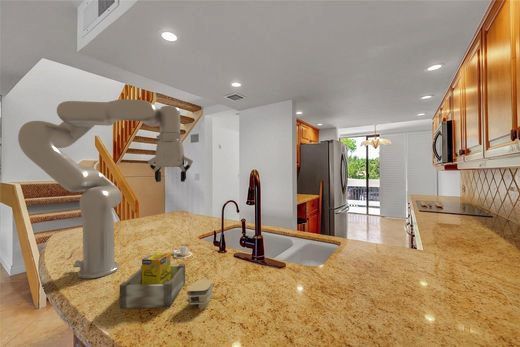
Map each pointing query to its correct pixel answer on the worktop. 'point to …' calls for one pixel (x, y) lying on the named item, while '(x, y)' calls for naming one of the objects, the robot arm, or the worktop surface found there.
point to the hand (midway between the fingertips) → (170, 181)
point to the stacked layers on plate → (200, 293)
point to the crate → (151, 290)
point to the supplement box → (156, 268)
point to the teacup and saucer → (182, 252)
